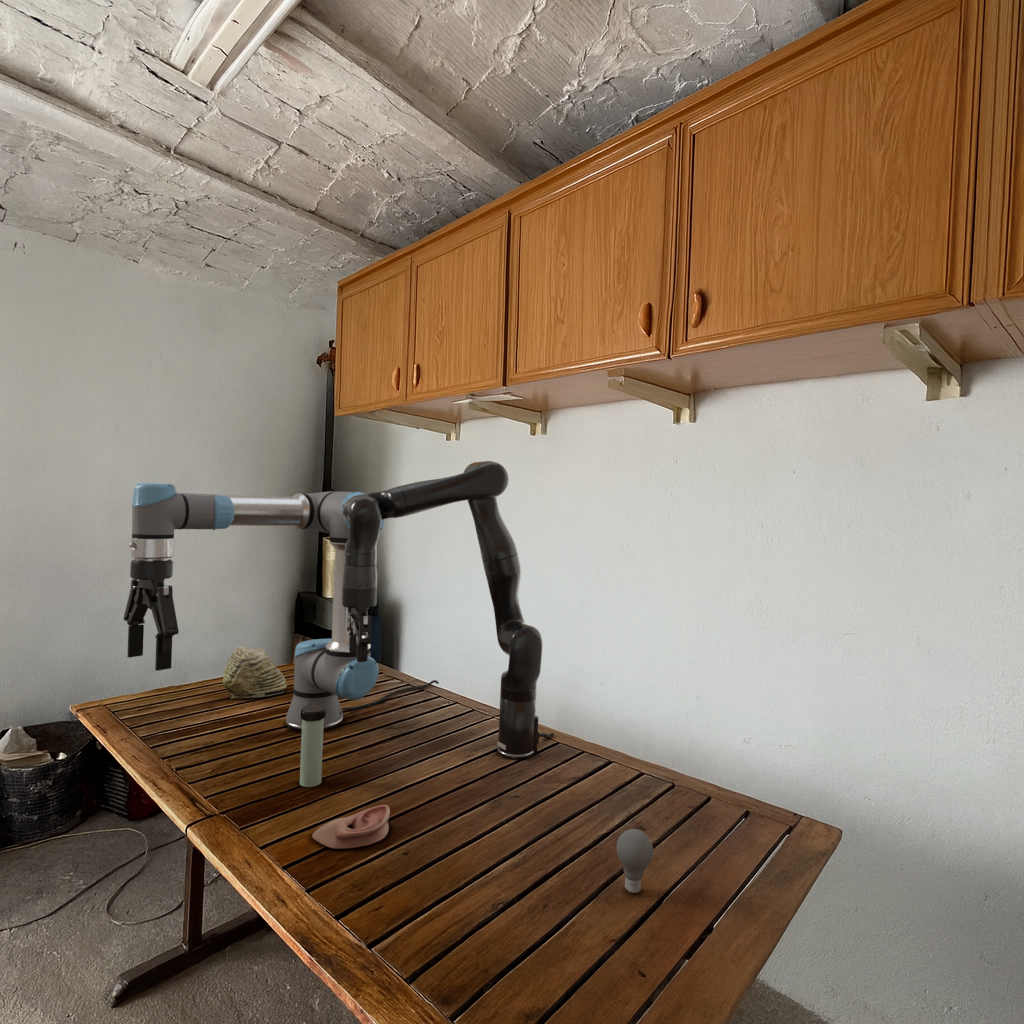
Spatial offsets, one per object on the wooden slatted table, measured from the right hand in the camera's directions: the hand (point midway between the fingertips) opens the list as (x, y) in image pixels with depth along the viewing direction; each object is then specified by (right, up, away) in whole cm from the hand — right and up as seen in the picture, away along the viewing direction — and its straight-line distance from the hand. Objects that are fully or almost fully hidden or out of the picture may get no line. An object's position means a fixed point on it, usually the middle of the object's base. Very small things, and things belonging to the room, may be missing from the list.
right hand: (357, 657), depth 142 cm
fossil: (-46, -25, +56) cm, 77 cm away
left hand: (-40, +2, -12) cm, 42 cm away
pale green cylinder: (-10, -27, -2) cm, 29 cm away
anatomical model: (+4, -28, -22) cm, 36 cm away
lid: (-9, -11, -2) cm, 15 cm away
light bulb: (+55, -31, -36) cm, 72 cm away
